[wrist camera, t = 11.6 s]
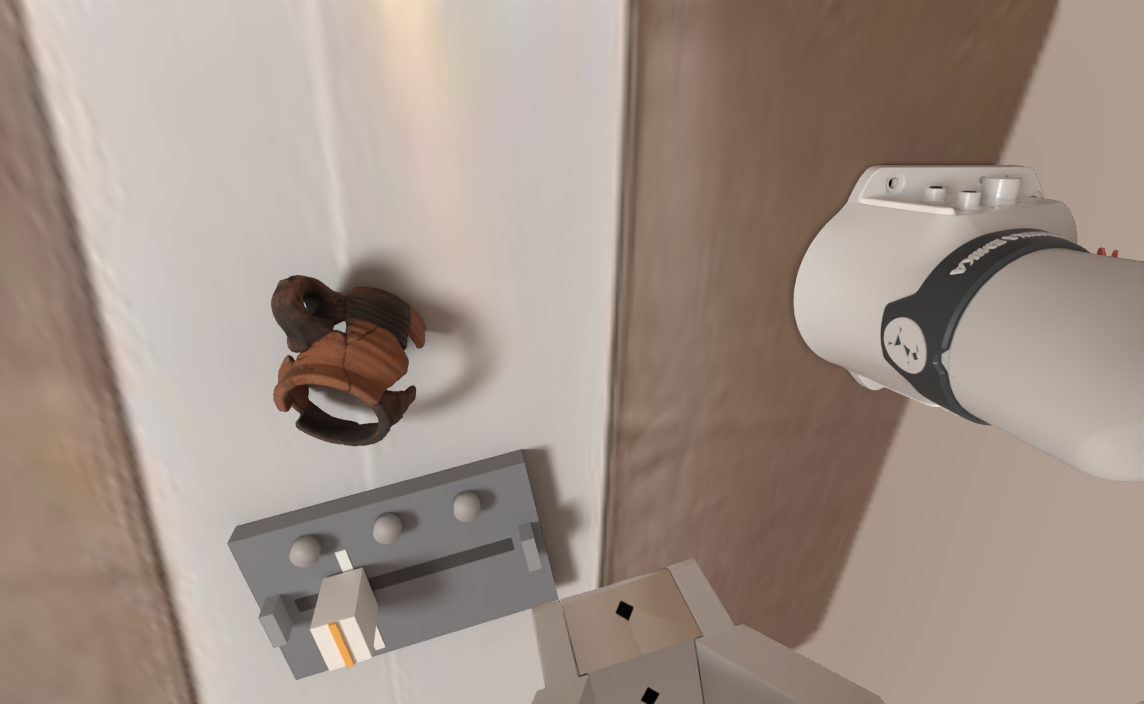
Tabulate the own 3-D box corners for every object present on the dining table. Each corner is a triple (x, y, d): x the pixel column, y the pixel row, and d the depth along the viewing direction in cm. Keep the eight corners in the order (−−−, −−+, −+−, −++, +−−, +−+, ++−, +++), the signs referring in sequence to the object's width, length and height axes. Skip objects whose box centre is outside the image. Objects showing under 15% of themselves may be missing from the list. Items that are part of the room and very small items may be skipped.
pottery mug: (460, 349, 44) (432, 440, 38) (363, 378, 48) (324, 465, 42) (352, 221, 37) (298, 311, 31) (246, 267, 40) (180, 355, 35)
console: (521, 449, 47) (528, 476, 44) (554, 583, 53) (563, 617, 49) (235, 526, 45) (217, 562, 41) (301, 659, 50) (290, 701, 46)
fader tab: (362, 567, 46) (353, 618, 41) (378, 606, 47) (371, 660, 42) (322, 578, 45) (309, 631, 40) (339, 618, 47) (328, 673, 42)
